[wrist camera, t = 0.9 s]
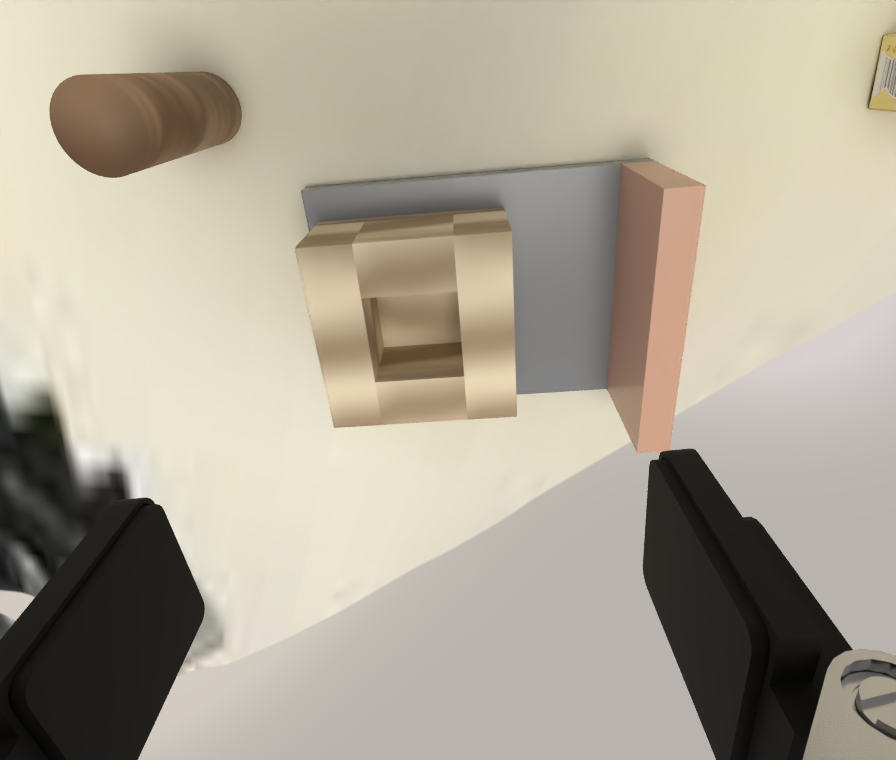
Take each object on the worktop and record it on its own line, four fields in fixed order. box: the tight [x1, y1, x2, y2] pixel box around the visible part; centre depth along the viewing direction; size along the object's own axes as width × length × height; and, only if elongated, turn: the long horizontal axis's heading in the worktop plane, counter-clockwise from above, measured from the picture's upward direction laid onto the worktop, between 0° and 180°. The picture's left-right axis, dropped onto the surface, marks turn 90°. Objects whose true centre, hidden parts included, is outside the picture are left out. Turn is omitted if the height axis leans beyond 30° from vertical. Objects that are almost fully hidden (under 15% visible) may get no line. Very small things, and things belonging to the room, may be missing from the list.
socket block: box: [295, 207, 517, 428], centre depth 36 cm, size 12×12×6 cm
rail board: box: [301, 158, 706, 453], centre depth 36 cm, size 16×22×9 cm
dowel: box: [50, 72, 241, 178], centre depth 29 cm, size 4×4×12 cm
